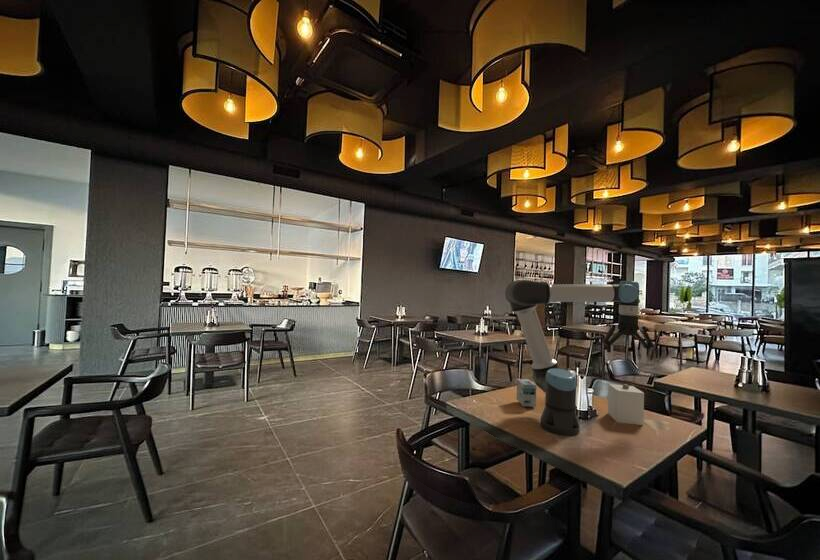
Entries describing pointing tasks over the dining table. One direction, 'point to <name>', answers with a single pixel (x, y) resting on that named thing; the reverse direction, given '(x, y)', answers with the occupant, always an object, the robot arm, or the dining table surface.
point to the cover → (626, 404)
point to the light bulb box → (526, 392)
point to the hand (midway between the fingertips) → (626, 361)
